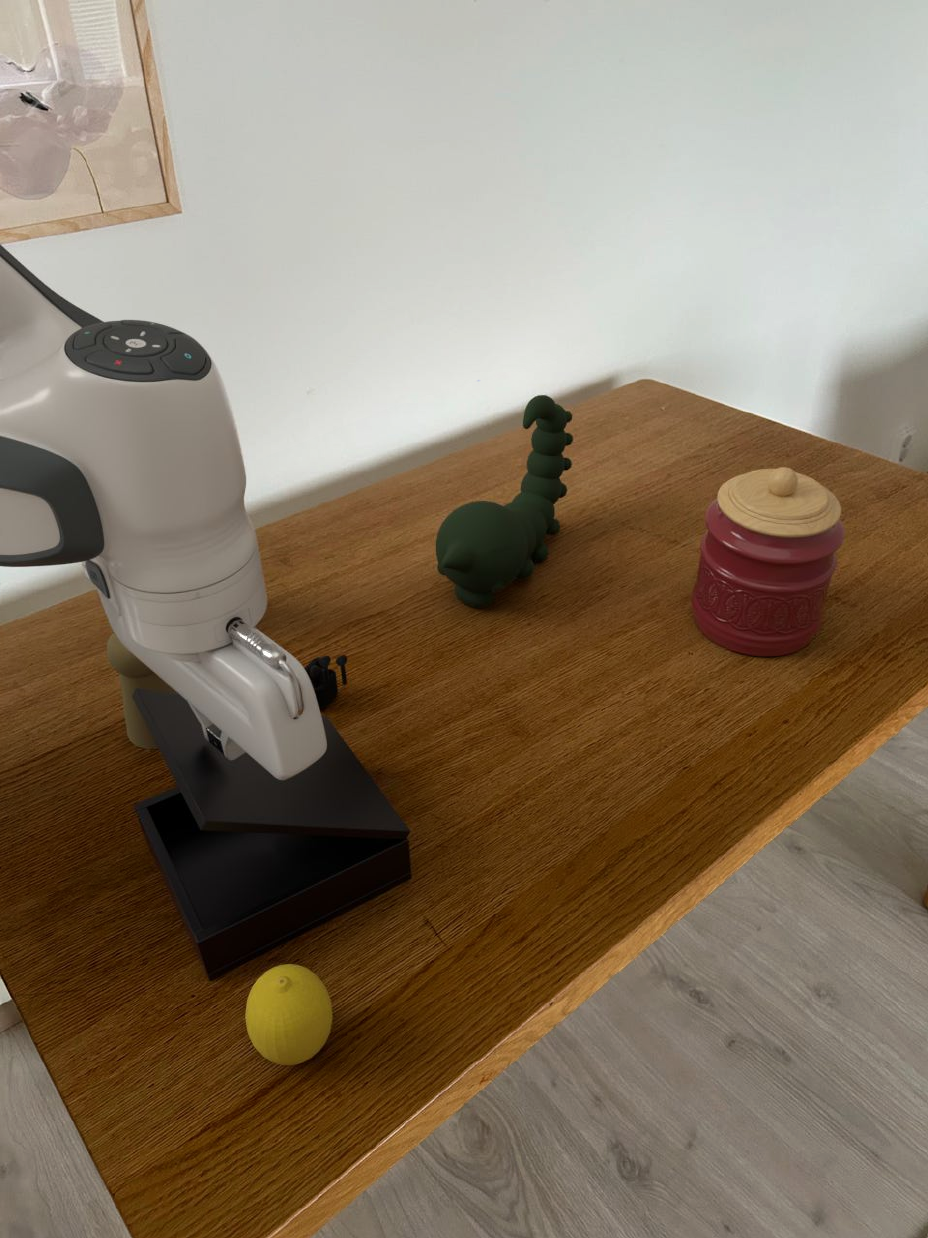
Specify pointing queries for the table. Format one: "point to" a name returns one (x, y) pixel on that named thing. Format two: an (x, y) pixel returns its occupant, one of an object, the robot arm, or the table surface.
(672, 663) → the table surface
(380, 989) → the table surface
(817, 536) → the kitchen canister
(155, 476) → the robot arm
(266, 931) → the black box base
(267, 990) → the lemon
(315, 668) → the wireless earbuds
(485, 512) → the toy figurine
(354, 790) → the lid
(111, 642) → the cork
